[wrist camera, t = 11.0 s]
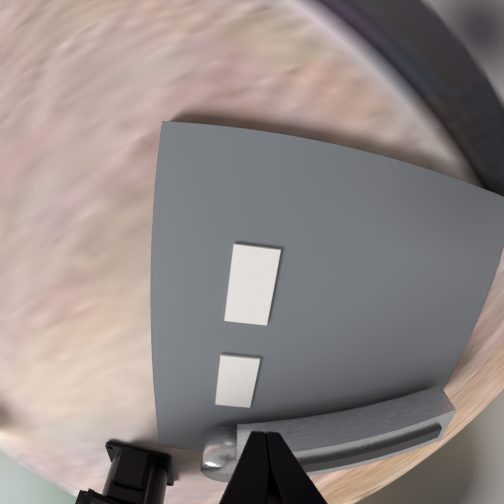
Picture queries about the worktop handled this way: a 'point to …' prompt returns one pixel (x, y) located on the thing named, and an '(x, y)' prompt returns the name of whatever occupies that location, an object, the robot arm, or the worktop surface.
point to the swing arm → (340, 435)
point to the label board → (305, 277)
